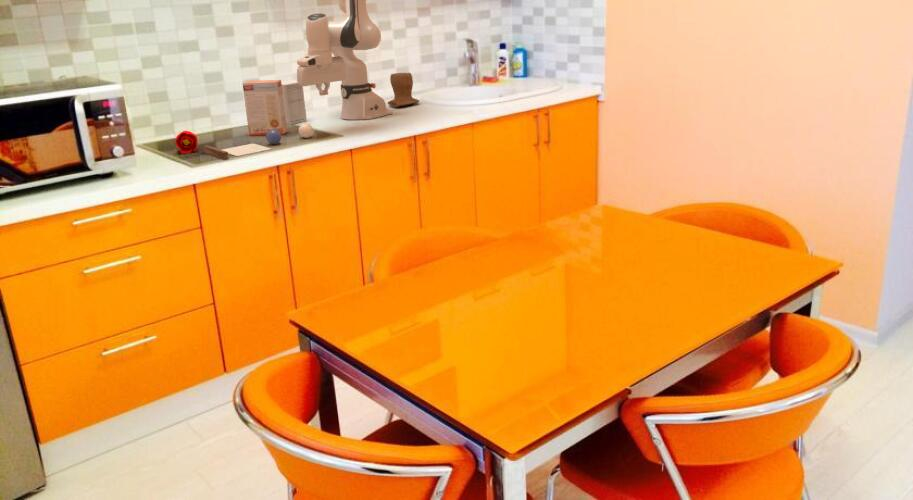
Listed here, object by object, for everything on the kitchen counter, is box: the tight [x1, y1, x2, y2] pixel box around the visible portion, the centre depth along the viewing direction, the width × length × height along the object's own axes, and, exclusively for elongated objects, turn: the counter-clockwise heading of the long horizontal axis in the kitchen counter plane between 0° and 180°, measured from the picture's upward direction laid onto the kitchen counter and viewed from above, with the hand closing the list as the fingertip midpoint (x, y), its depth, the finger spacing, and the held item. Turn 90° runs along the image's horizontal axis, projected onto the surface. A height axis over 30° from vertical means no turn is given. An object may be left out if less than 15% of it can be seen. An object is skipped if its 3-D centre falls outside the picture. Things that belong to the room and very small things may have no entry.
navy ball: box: [265, 130, 282, 145], centre depth 304 cm, size 6×6×6 cm
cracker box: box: [242, 79, 288, 136], centre depth 320 cm, size 14×6×21 cm, turn 84°
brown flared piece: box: [387, 72, 420, 109], centre depth 370 cm, size 15×12×15 cm
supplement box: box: [281, 79, 307, 126], centre depth 342 cm, size 10×9×17 cm
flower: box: [174, 130, 198, 154], centre depth 299 cm, size 8×8×8 cm
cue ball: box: [298, 123, 314, 139], centre depth 313 cm, size 6×6×6 cm
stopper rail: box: [203, 145, 230, 161], centre depth 291 cm, size 2×16×2 cm, turn 41°
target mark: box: [221, 143, 272, 157], centre depth 298 cm, size 14×14×1 cm
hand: (323, 95), depth 315 cm, fingers closed
